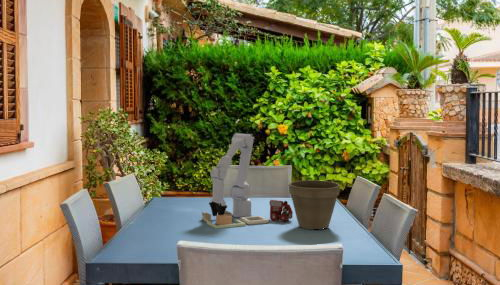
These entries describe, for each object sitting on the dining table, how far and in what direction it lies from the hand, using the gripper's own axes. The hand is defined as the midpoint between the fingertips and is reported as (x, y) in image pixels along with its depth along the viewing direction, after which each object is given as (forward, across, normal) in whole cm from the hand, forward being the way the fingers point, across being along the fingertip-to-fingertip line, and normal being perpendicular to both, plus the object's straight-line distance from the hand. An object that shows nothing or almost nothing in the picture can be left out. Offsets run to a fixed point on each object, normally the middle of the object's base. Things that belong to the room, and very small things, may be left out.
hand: (217, 217), depth 285 cm
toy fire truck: (+2, +11, +31) cm, 33 cm away
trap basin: (+2, +10, +16) cm, 19 cm away
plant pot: (+2, +31, +38) cm, 49 cm away
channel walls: (+2, -1, 0) cm, 2 cm away
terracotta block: (+2, +8, 0) cm, 8 cm away
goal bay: (+2, +10, 0) cm, 10 cm away
